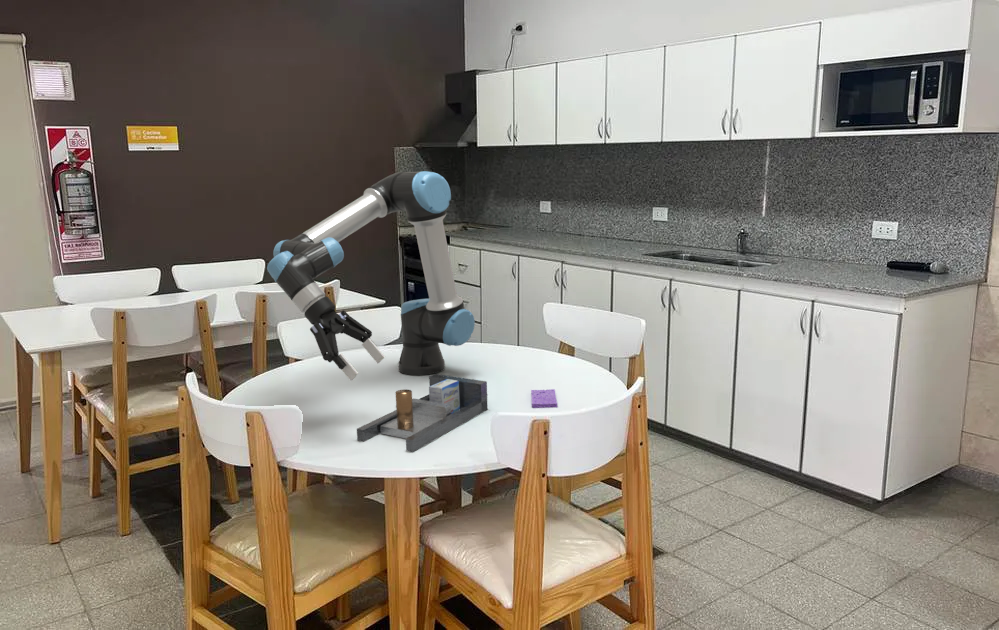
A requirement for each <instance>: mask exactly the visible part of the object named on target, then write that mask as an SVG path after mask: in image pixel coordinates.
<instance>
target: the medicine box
mask: <svg viewBox="0 0 999 630" xmlns="http://www.w3.org/2000/svg"><path fill="white" fill-rule="evenodd" d="M428 394H429V398H430V401H432V402H438V403H444V404H450V405H451V414H452V413H454V412H456V411H458V410H460V399H459V381H456V380H451V379H446V380H444V381H441V382H439V383H437V384H434V385H432V386H430V387H429V386H428Z"/></svg>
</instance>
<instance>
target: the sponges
mask: <svg viewBox="0 0 999 630" xmlns="http://www.w3.org/2000/svg"><path fill="white" fill-rule="evenodd" d="M530 395H531V408H532V409H546V408H548V409H549V408H558V401H557V397H556V396H557V395H556V389H555V388H552V389H530Z"/></svg>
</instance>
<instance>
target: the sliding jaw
mask: <svg viewBox="0 0 999 630" xmlns="http://www.w3.org/2000/svg"><path fill="white" fill-rule="evenodd" d="M395 404H396V407H395V408H396V409H395V410H397V418H395V419H393V420H391V421H389V422H387V423H385V424H383V425H381V426H380V429H381V433H380V434H381V435H382V434H383V435H388V436H391V437H397V438H403V439H406V438H408V437H410V436H412V435H413V434H415V433H417V432H419V431H421V430H423V429H425V428H426V427H428V426H430V425H432V424H434V423H436V422H438V421H439V420H441V419H443V418H445V417H447V416H449V415H451V405H450V404H444V403H438V402H432V401H426V400H420V398H413V391H412V390H411V389H408V388H407V389H406V388H405V389H399V390H396V391H395Z"/></svg>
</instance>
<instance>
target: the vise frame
mask: <svg viewBox="0 0 999 630" xmlns="http://www.w3.org/2000/svg"><path fill="white" fill-rule="evenodd" d="M446 379H451V380H456V381H459V399H460V410H458V411H456V412H454V413H452V414H451V415H449V416H447V417H445V418H443V419H441V420H439V421H438V422H436V423H434V424H432V425H430V426H428V427H426V428H425V429H423V430H421V431H419V432H417V433H415V434H413V435H412V436H410V437H408V438H405V448H406V449H405V451H406V452H410V453H413V452H416V451H418V450H419V449H421V448H424V446H426V445H428V444H430V443H432V442H434V441H435V440H437V439H438V438H440V437H442V436H444V435H446V434H448V433H450V432H451V431H453V430H455V429H456V428H458V427H459V426H461V425H463V424H465V423H467V422H468V421H470V420H472V419H474V418H475V417H477V416H479V415H481V414H482V413H484V412H486V411H488V410H489V409H488V384H487V383H488V381H486V380H480V379H474V378H473V379H472V378H466V377H458V376H451V375H445V374H438V373H433V374H431V375H430V376H429V377H428V383H429V385H428V388H429V387H430V386H432V385H434V384H437V383H439V382H441V381H444V380H446ZM419 399H420V400H426V401H430V398H429V393H428V394H427V395H424V396H423V397H420V398H419ZM395 418H397V410H396V409H395V410H393V411H391V412H389V413H387V414H385V415H383V416H380V417H379V418H376V419H375V420H372V421H370V422H368V423H365V424H363V425H362V426H360V427H358V428H356V436H357V437H356V438H357V439H356V440H357V441H359V442H366V441H368V440H370V439H371V438H374V437H376V436H378V435H380V434H381V429H380V426H381V425H383V424H385V423H387V422H389V421H391V420H393V419H395Z"/></svg>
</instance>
